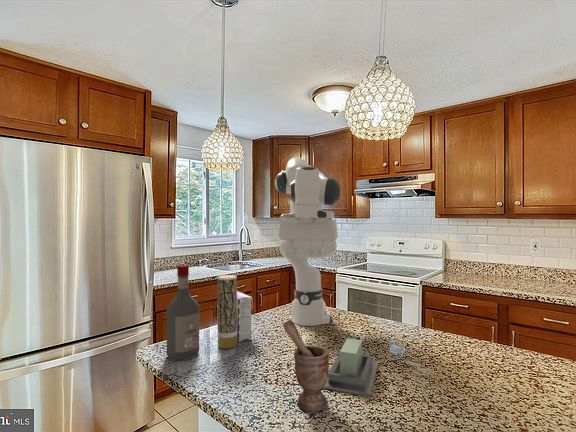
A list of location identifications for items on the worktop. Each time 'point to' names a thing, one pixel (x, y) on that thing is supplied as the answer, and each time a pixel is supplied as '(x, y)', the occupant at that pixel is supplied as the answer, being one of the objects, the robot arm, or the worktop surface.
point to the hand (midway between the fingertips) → (307, 253)
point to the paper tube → (227, 311)
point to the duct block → (351, 357)
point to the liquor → (182, 321)
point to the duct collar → (353, 378)
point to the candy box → (243, 317)
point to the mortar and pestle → (309, 371)
